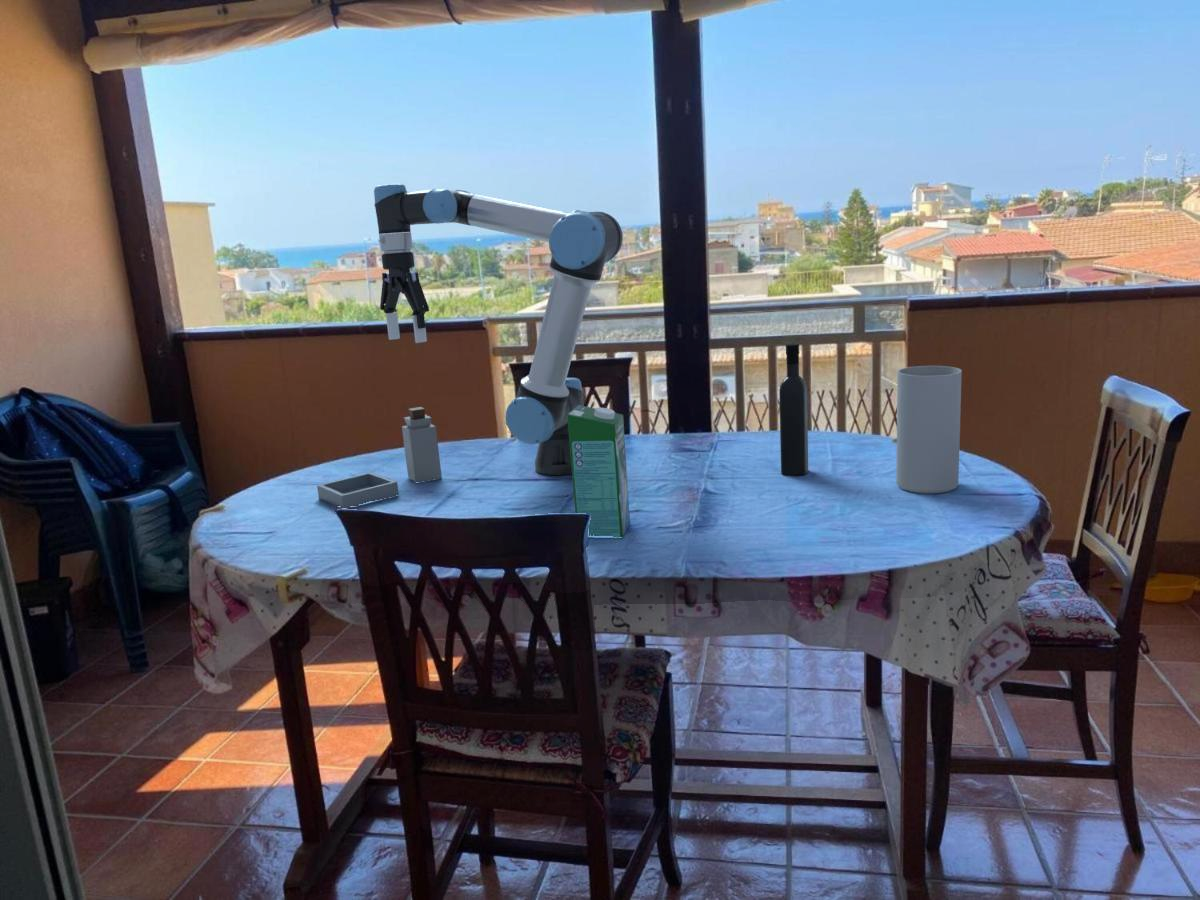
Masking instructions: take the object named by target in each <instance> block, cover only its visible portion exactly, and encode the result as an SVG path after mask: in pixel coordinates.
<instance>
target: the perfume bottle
mask: <svg viewBox="0 0 1200 900" xmlns="http://www.w3.org/2000/svg"><path fill="white" fill-rule="evenodd" d="M408 413H409V416H406V417H403V419H404V421H405V424H406V425H402V426H401V429H402V430H401V431H402V438H403V446H404V453H405V454H404V456H405V462H406V470H407V478H408V477H409V478H410V479H411V481H412V480H413V481H414V482H415V484H417V483H416V482H422V481H427V482H429V481H428V480H432V481H434V480H433V479H437V480H441V479H440V478H442V476H443V475H442V470H441V468H442V467H441V460H440V452H439V451H440V450H439V443H438V433H437V426H436V425H434V424H432V423H431V422H432V417H431V416H429V415H427V414H426V409H425V408H424V407H422V406H417V407H411V408H408ZM409 478H408V479H409ZM410 479H409V480H410ZM413 481H412V482H413ZM414 482H413V483H414ZM422 483H423V482H422Z"/></svg>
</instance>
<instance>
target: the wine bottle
mask: <svg viewBox="0 0 1200 900" xmlns="http://www.w3.org/2000/svg"><path fill="white" fill-rule="evenodd" d="M799 355H800V344H799V343H787V344H785V356H786V376H785V377H784V379H782V382H781V384H780V386H779V394H778V395H779V396H778V397H779V398H778V400H779V428H780V429H779V432H780V433H779V437H780V439H779V440H780V473H781V474H782V475H783V476H784V475H785V476H805V475H806V474H807V472H808V471H809V435H808V433H809V431H808V429H809V423H808V421H809V419H808V417H809V415H808V414H809V413H808V386H807V383H806V381H805V380H804V378H803V377H802V376H800V366H799V365H800V358H799V357H800V356H799Z"/></svg>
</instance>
